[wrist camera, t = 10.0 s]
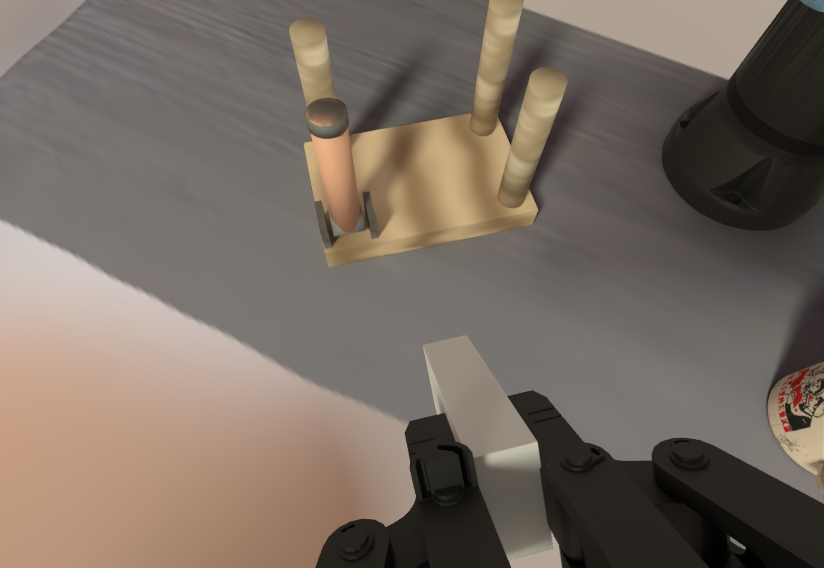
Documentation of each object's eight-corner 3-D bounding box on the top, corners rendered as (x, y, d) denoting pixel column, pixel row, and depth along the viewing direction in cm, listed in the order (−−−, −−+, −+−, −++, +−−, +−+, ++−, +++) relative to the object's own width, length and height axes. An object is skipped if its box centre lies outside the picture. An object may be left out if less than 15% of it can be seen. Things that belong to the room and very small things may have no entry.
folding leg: (360, 212, 45) (343, 94, 33) (366, 237, 44) (350, 123, 32) (330, 218, 45) (302, 101, 33) (335, 243, 43) (308, 130, 32)
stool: (491, 126, 53) (522, -21, 39) (532, 224, 48) (586, 95, 33) (308, 159, 51) (269, 16, 37) (329, 267, 45) (293, 148, 31)
